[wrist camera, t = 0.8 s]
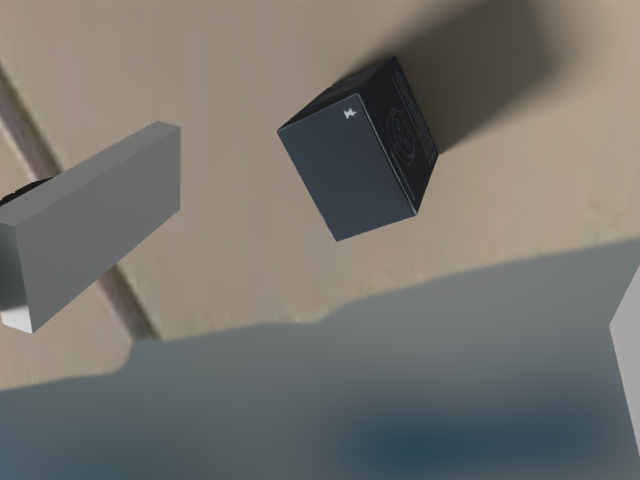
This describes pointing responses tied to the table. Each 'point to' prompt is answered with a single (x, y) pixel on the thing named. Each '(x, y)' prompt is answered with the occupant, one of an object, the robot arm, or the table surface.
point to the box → (363, 151)
